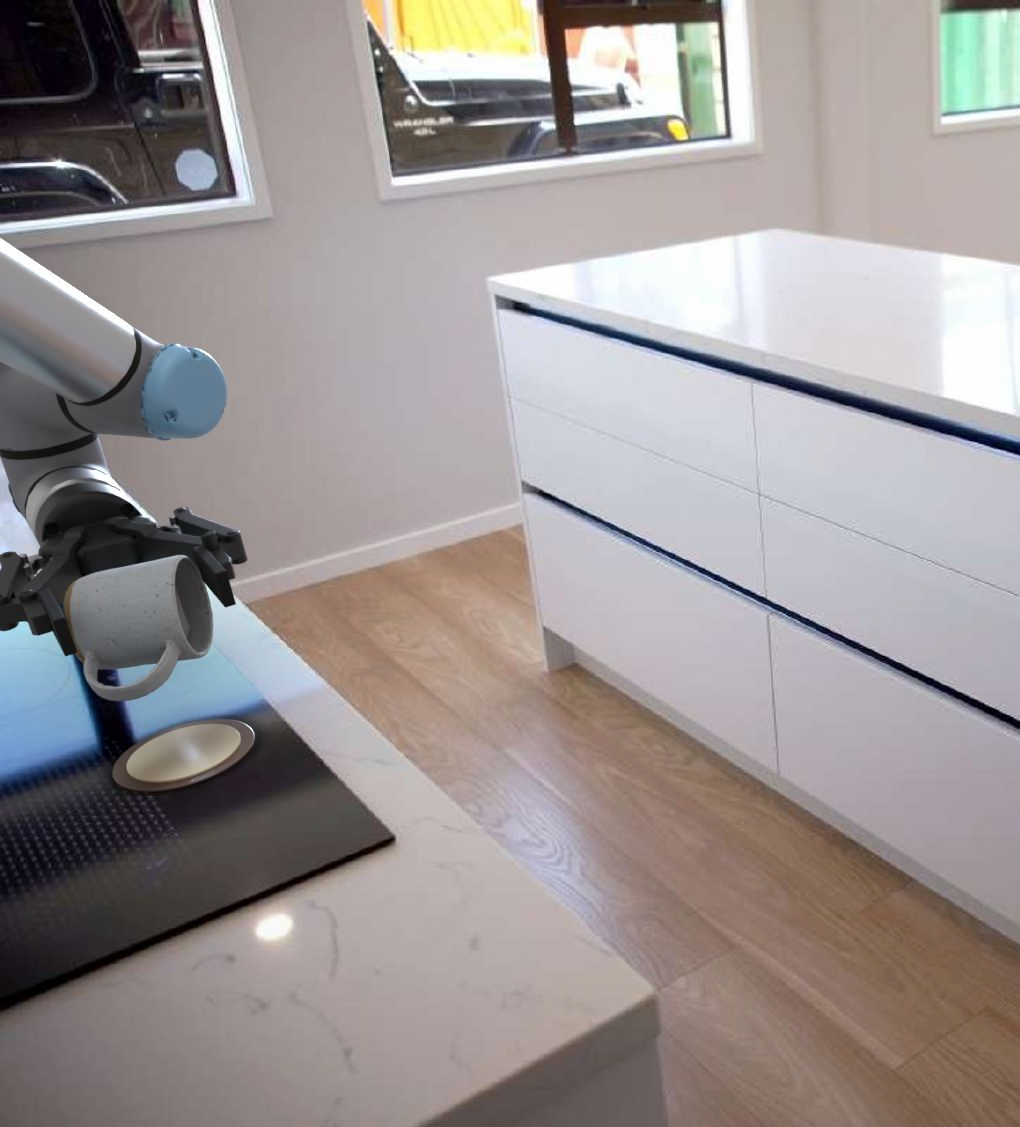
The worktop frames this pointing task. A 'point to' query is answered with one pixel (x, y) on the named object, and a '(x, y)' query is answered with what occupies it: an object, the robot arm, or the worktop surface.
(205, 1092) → the worktop surface
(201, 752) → the cream coaster
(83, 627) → the ceramic mug
